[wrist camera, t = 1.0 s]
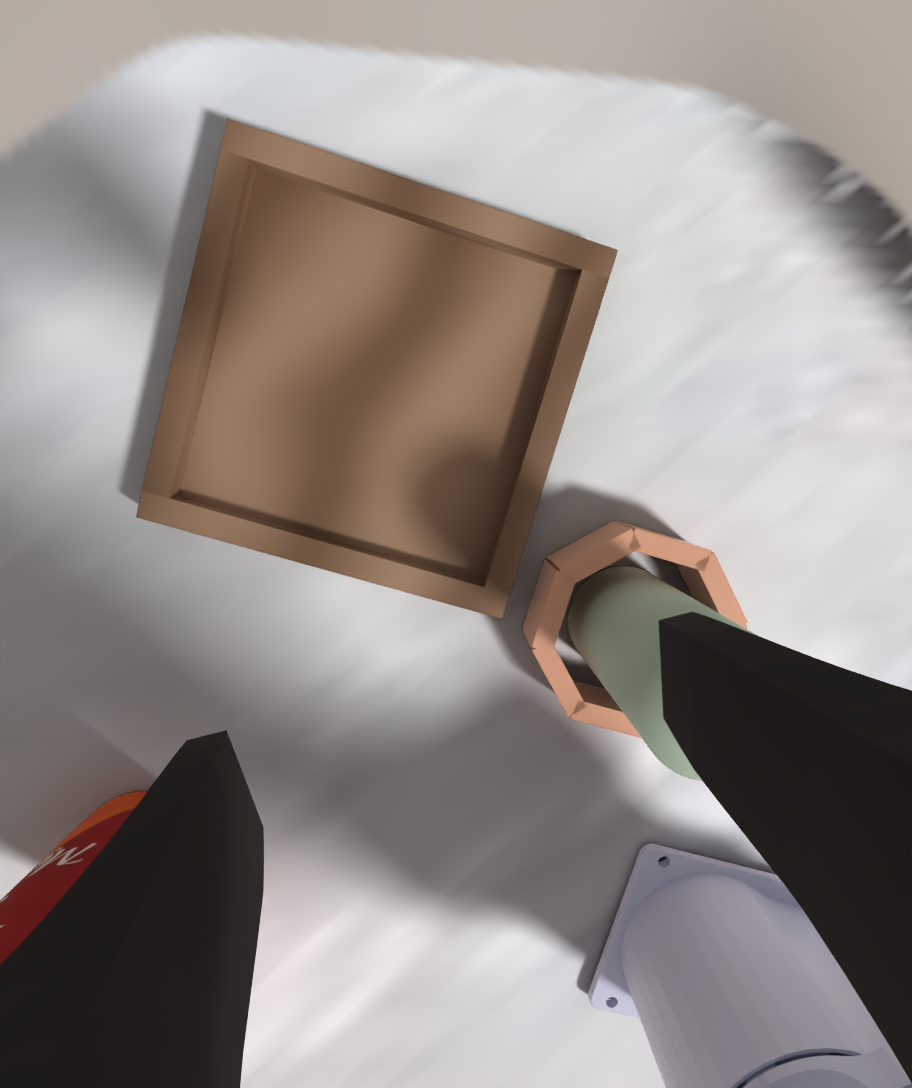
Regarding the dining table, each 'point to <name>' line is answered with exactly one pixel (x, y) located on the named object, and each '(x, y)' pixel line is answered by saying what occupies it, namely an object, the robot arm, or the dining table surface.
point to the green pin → (633, 648)
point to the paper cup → (59, 872)
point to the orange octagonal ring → (587, 559)
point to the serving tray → (369, 373)
